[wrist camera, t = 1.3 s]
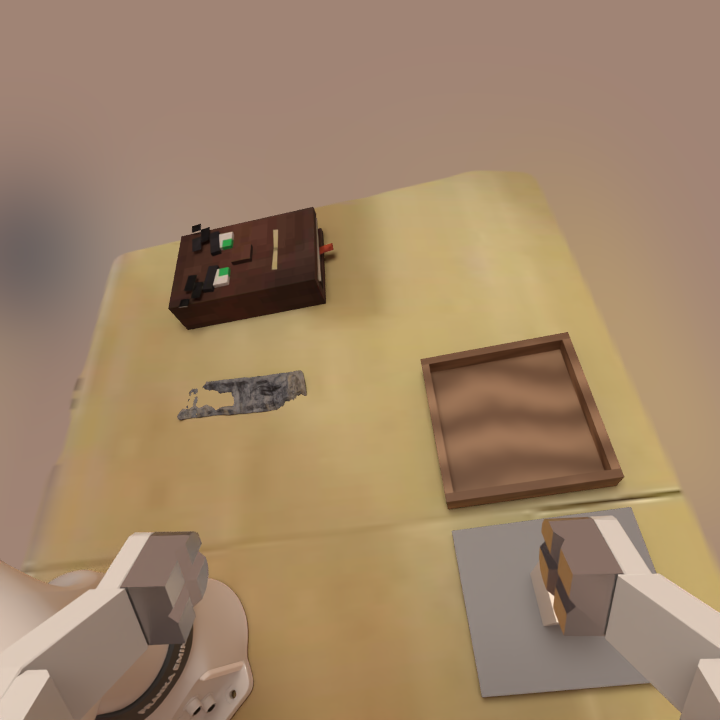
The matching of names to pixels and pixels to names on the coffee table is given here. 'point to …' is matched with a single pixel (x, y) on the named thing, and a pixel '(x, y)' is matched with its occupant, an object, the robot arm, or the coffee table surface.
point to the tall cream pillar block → (543, 598)
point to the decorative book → (249, 270)
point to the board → (530, 615)
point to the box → (516, 423)
